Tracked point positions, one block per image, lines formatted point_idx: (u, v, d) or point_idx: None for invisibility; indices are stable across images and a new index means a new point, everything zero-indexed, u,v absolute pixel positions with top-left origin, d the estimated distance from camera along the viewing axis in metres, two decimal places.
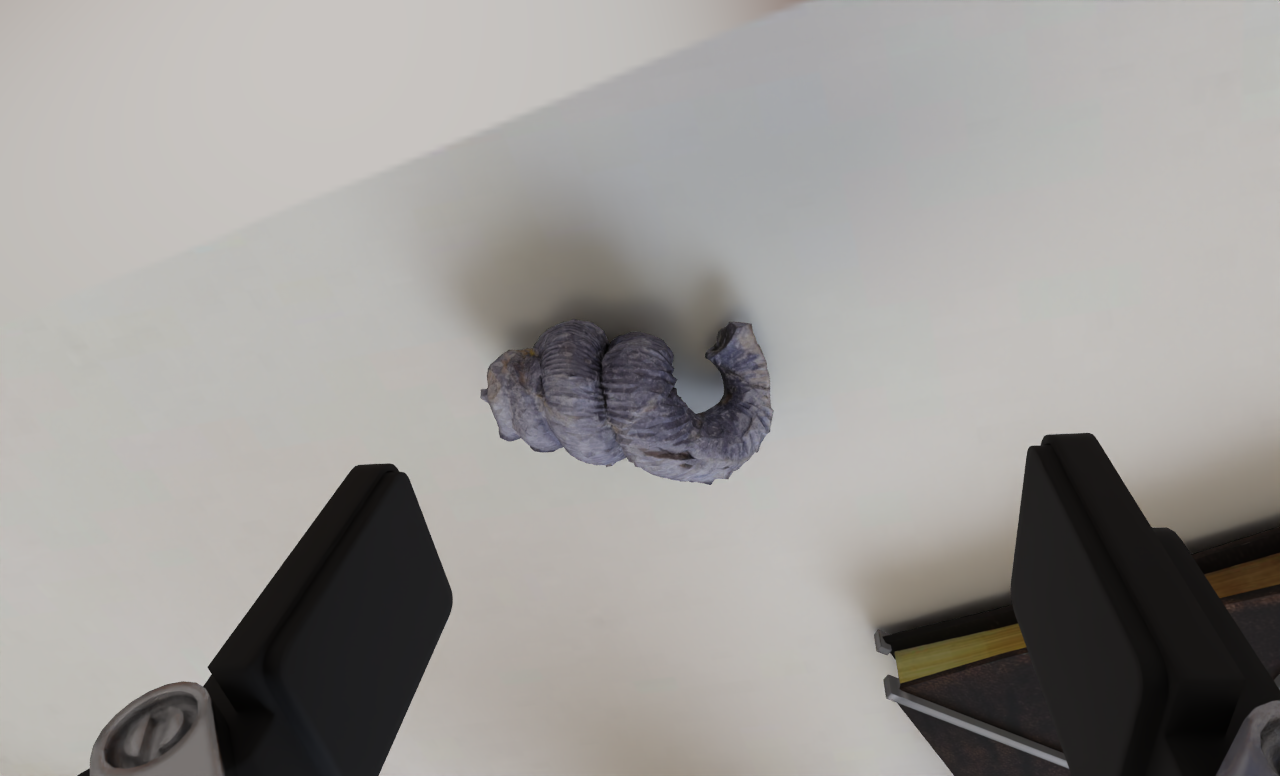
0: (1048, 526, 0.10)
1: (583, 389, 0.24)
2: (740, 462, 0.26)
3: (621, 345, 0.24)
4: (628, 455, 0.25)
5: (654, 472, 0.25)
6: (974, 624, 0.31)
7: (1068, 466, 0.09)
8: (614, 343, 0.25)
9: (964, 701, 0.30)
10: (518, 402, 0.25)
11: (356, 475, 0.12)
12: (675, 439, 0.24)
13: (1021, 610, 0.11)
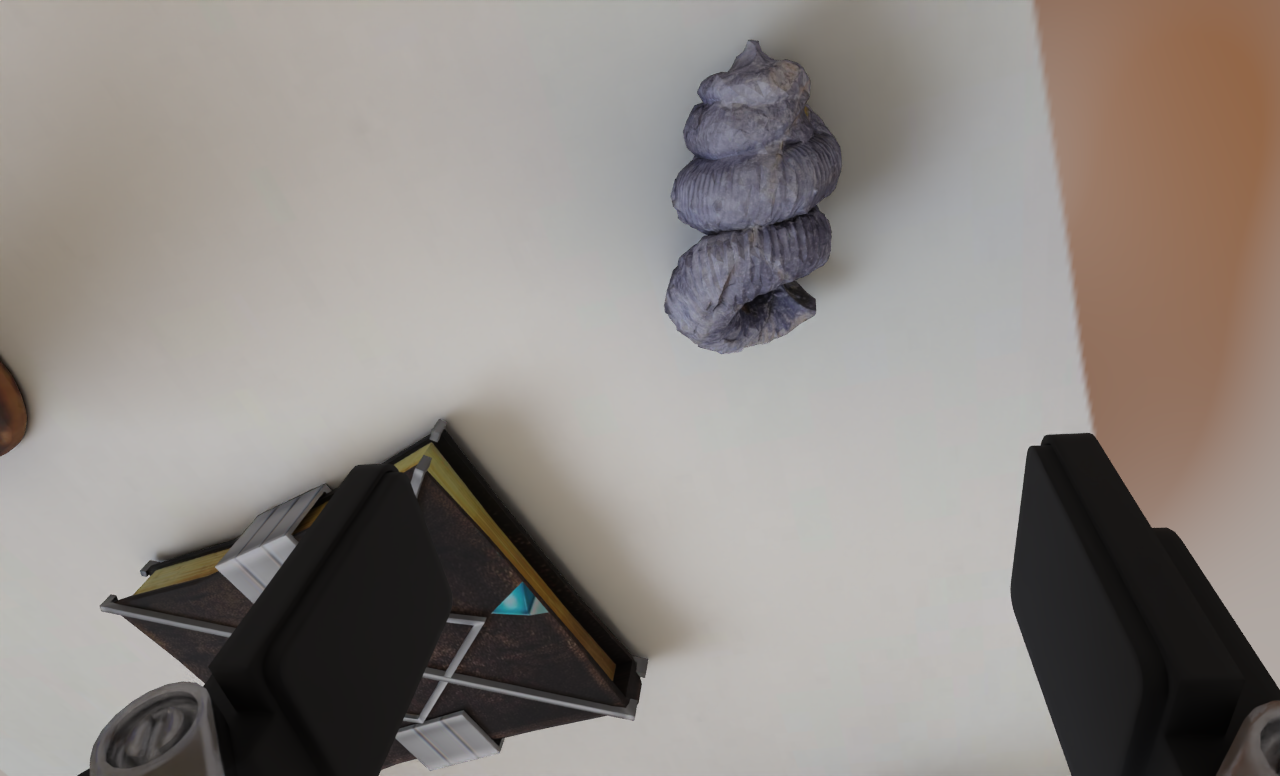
0: (1048, 526, 0.10)
1: (800, 205, 0.22)
2: (696, 340, 0.26)
3: (829, 228, 0.24)
4: (718, 249, 0.23)
5: (696, 273, 0.24)
6: (488, 498, 0.34)
7: (1068, 466, 0.09)
8: (814, 205, 0.24)
9: (425, 520, 0.32)
10: (776, 121, 0.22)
11: (356, 475, 0.12)
12: (741, 297, 0.24)
13: (1021, 610, 0.11)
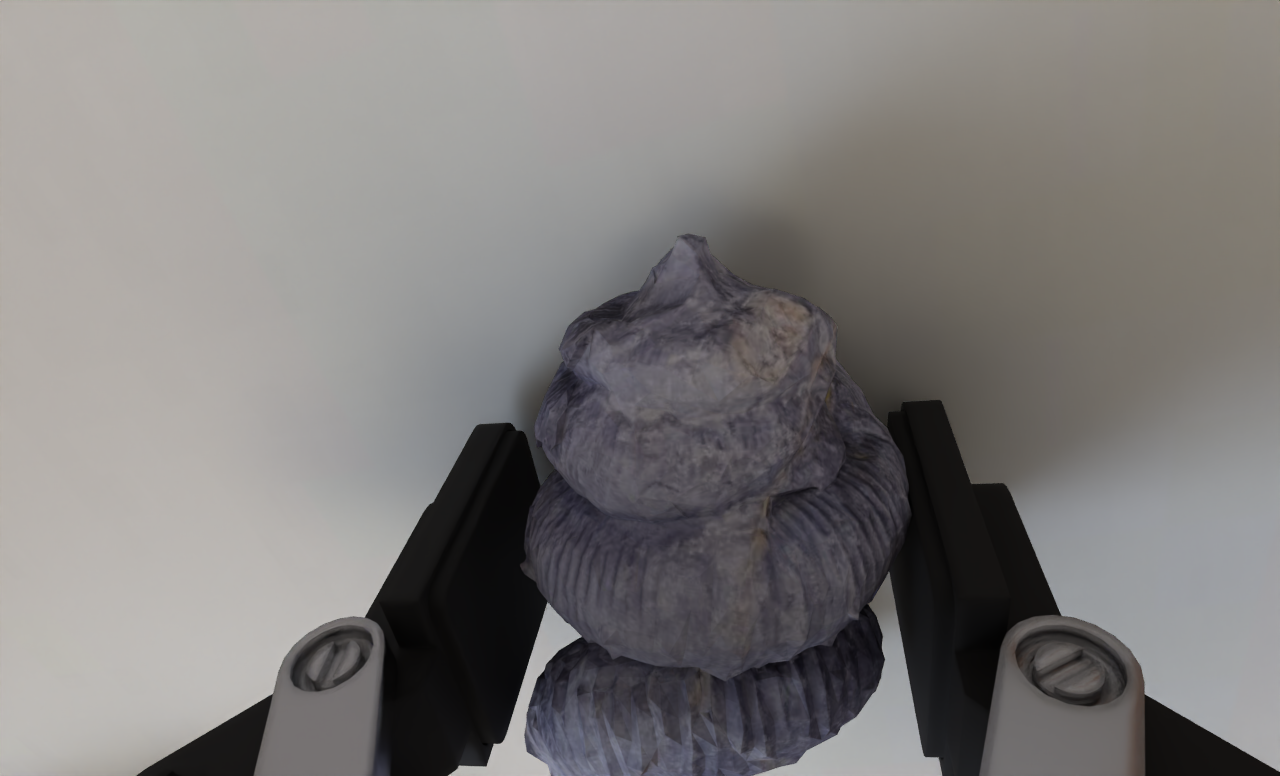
0: None
1: (815, 642, 0.09)
2: None
3: (878, 633, 0.10)
4: (619, 707, 0.10)
5: (573, 739, 0.10)
6: None
7: (913, 428, 0.11)
8: None
9: None
10: (751, 460, 0.08)
11: (480, 432, 0.12)
12: None
13: None
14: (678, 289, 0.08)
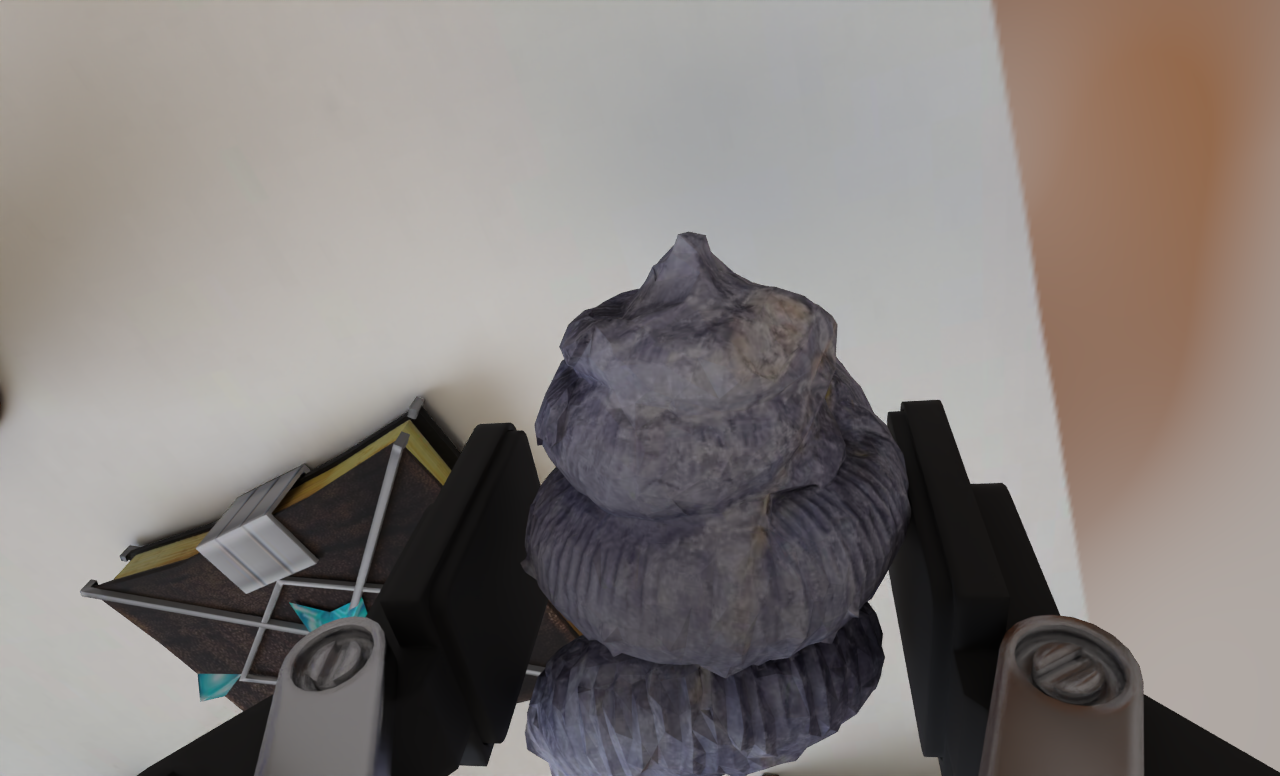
0: None
1: (814, 640, 0.09)
2: None
3: (878, 631, 0.10)
4: (619, 705, 0.10)
5: (574, 736, 0.10)
6: None
7: (912, 428, 0.11)
8: None
9: (404, 496, 0.33)
10: (750, 457, 0.08)
11: (481, 432, 0.12)
12: None
13: None
14: (678, 287, 0.08)
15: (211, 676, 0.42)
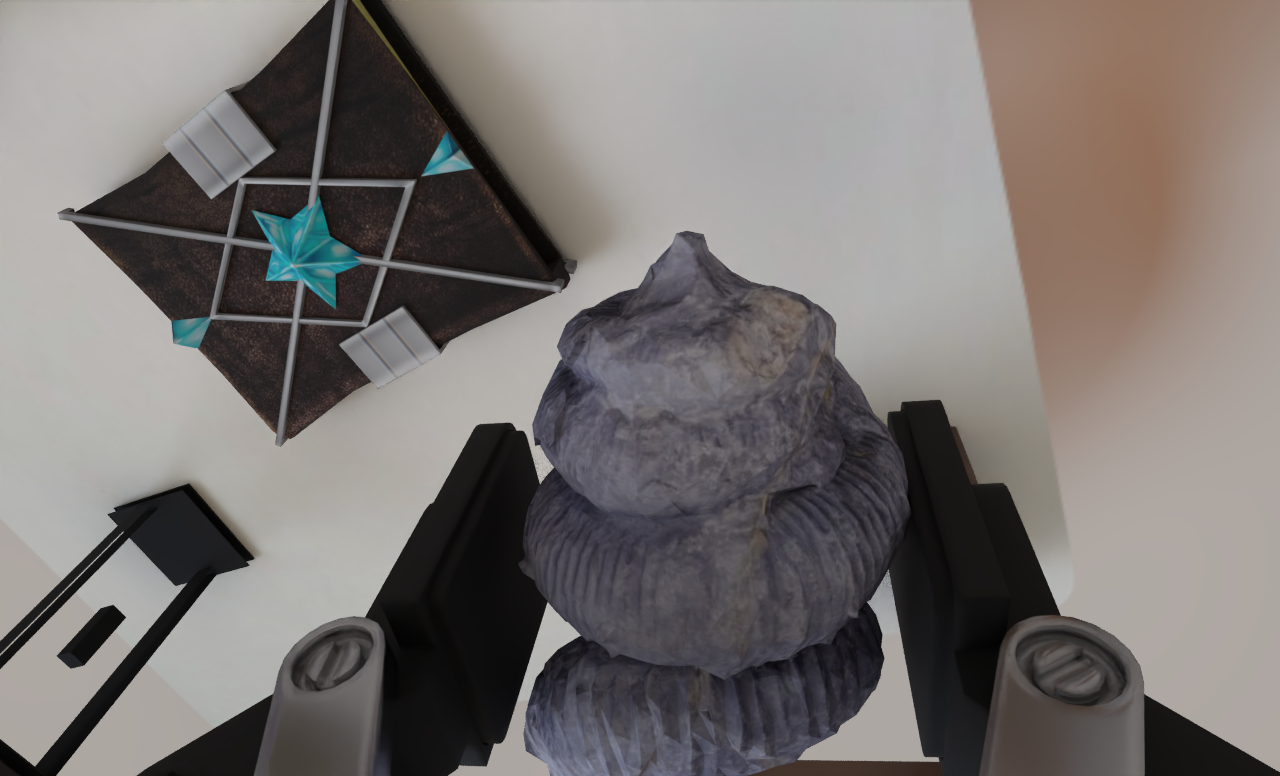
0: None
1: (813, 641, 0.09)
2: None
3: (877, 631, 0.10)
4: (617, 706, 0.10)
5: (572, 737, 0.10)
6: (414, 62, 0.37)
7: (913, 428, 0.11)
8: None
9: (352, 59, 0.35)
10: (749, 457, 0.08)
11: (481, 432, 0.12)
12: None
13: None
14: (676, 286, 0.08)
15: (184, 322, 0.44)
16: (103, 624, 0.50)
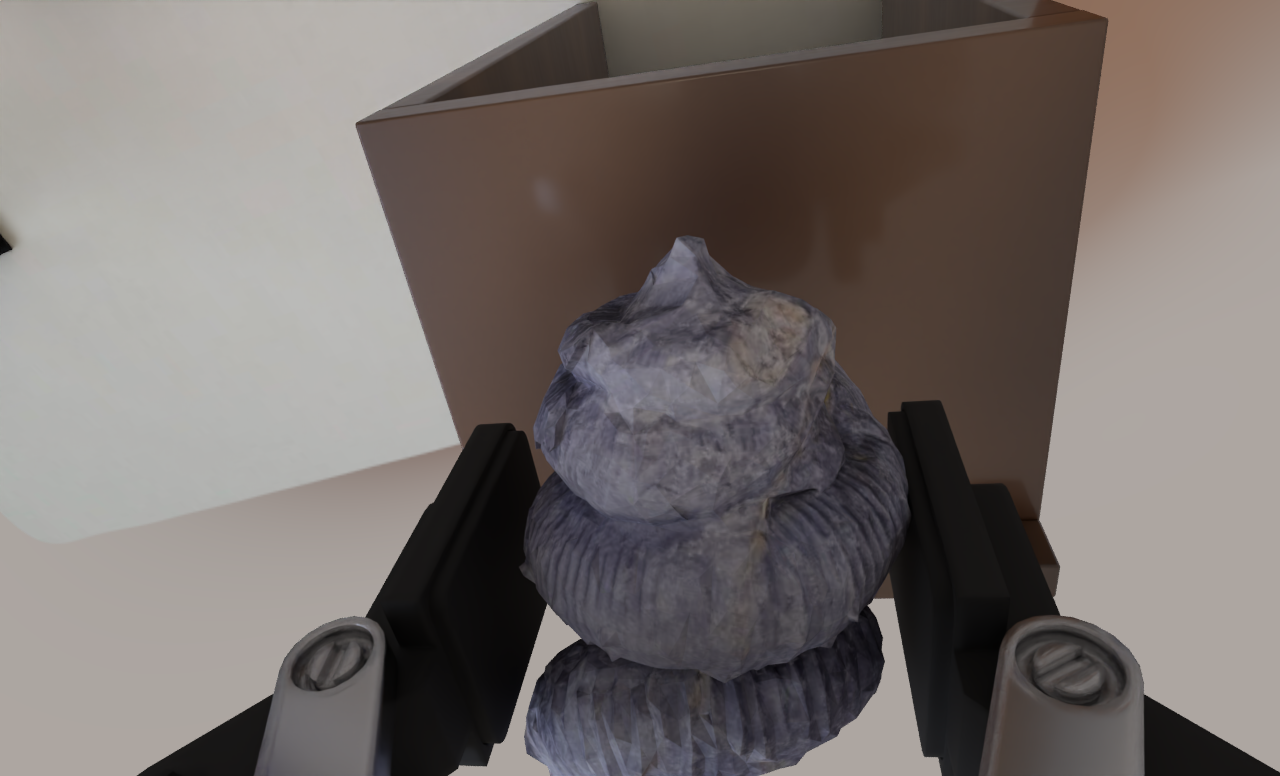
0: None
1: (814, 643, 0.09)
2: None
3: (878, 635, 0.10)
4: (618, 709, 0.10)
5: (572, 741, 0.10)
6: None
7: (913, 428, 0.11)
8: None
9: None
10: (750, 462, 0.08)
11: (481, 432, 0.12)
12: None
13: None
14: (676, 291, 0.08)
15: None
16: None
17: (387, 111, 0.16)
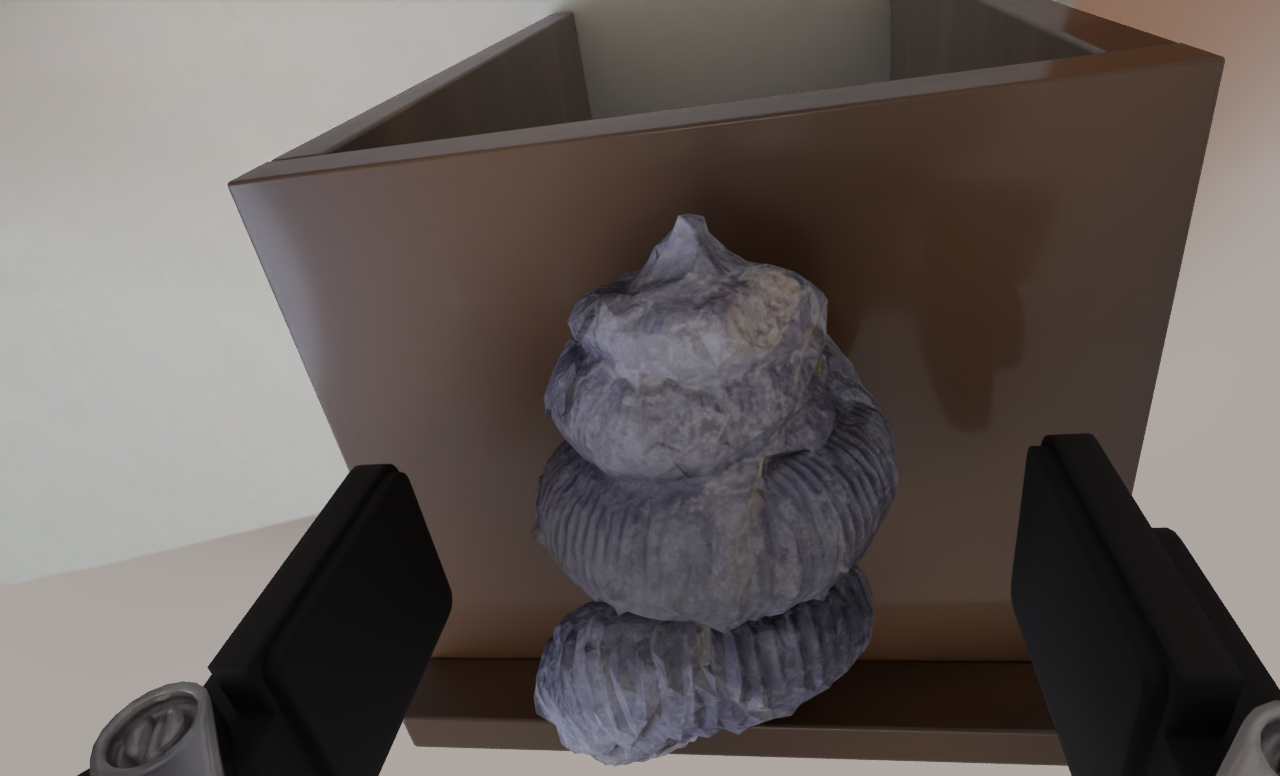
0: (1048, 526, 0.10)
1: (807, 596, 0.10)
2: None
3: (868, 593, 0.11)
4: (624, 662, 0.10)
5: (581, 694, 0.11)
6: None
7: (1068, 466, 0.09)
8: None
9: None
10: (747, 422, 0.09)
11: (356, 475, 0.12)
12: (680, 739, 0.11)
13: (1021, 610, 0.11)
14: (678, 264, 0.09)
15: None
16: None
17: (274, 165, 0.13)
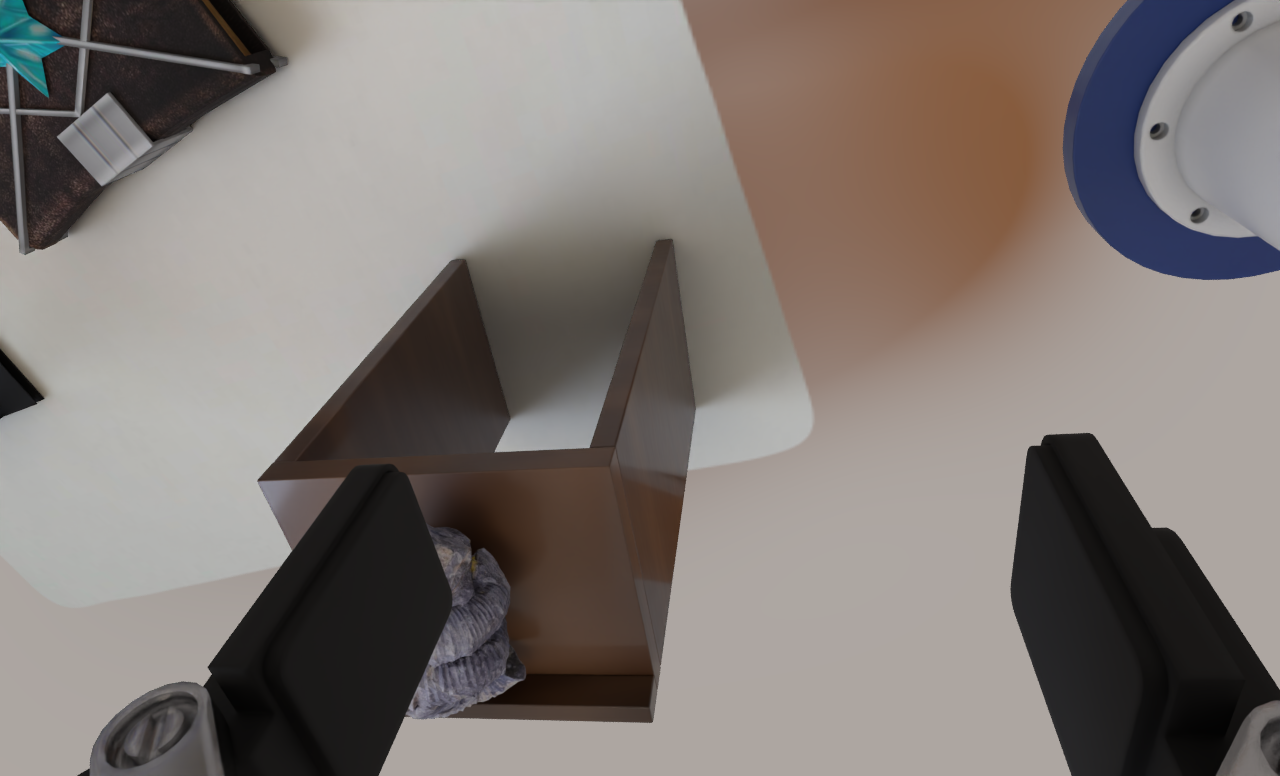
0: (1048, 526, 0.10)
1: (462, 655, 0.27)
2: None
3: (502, 651, 0.29)
4: None
5: None
6: None
7: (1068, 466, 0.09)
8: None
9: None
10: None
11: (356, 475, 0.12)
12: (431, 706, 0.29)
13: (1021, 610, 0.11)
14: None
15: None
16: None
17: (276, 467, 0.31)
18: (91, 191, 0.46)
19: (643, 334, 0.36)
